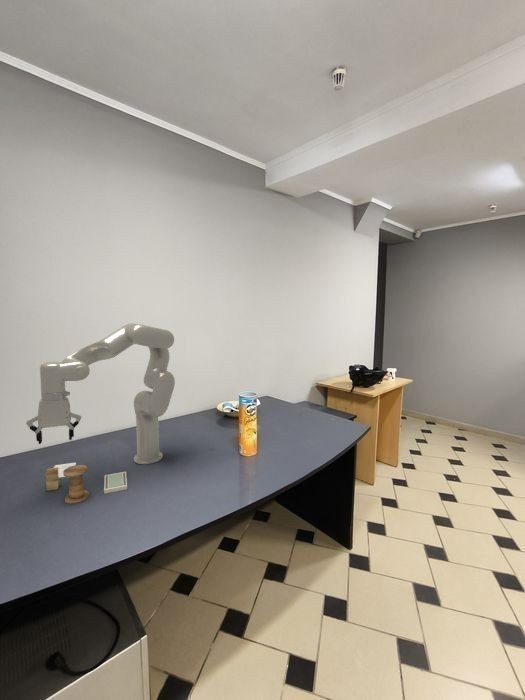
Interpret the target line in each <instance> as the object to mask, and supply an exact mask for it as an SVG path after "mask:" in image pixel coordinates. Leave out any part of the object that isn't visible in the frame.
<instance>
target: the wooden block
mask: <svg viewBox="0 0 525 700" xmlns="http://www.w3.org/2000/svg"><path fill="white" fill-rule="evenodd" d="M44 475H45V483H46V485H45V486H46V492H49V491H56V490H58V489H59V488H60V487H59V486H60V480H59V474H58V467H56V468H54V467H52V468H51V467H50V468H47V469H46V471H45V474H44Z"/></svg>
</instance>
